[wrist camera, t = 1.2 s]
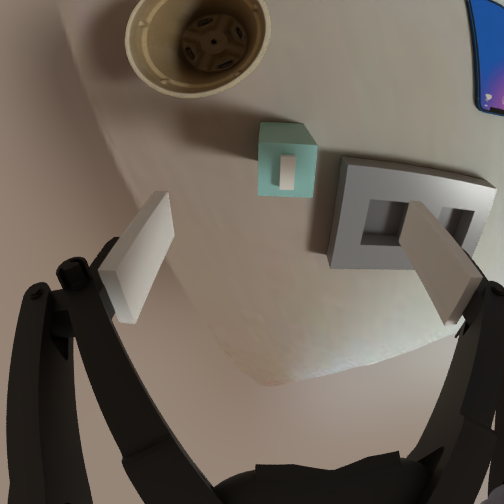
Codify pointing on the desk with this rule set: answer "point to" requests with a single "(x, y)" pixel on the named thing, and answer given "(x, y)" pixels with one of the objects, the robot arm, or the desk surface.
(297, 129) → the charger
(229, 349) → the desk surface
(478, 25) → the smartphone
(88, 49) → the desk surface
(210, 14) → the flower pot
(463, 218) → the outlet plate
